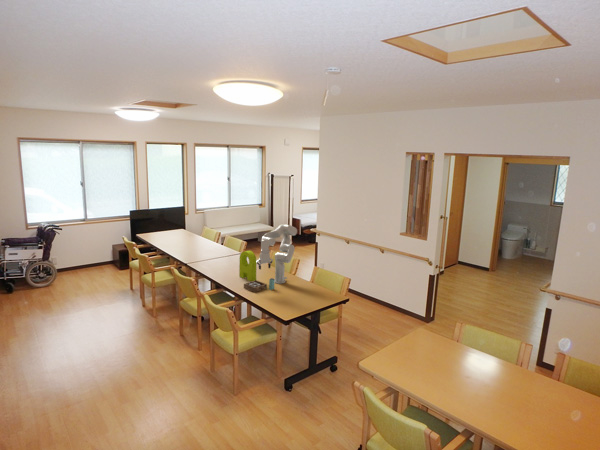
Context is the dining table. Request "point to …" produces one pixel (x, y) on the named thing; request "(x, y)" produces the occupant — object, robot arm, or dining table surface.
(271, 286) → the connector
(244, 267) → the decorative object
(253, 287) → the walled box
